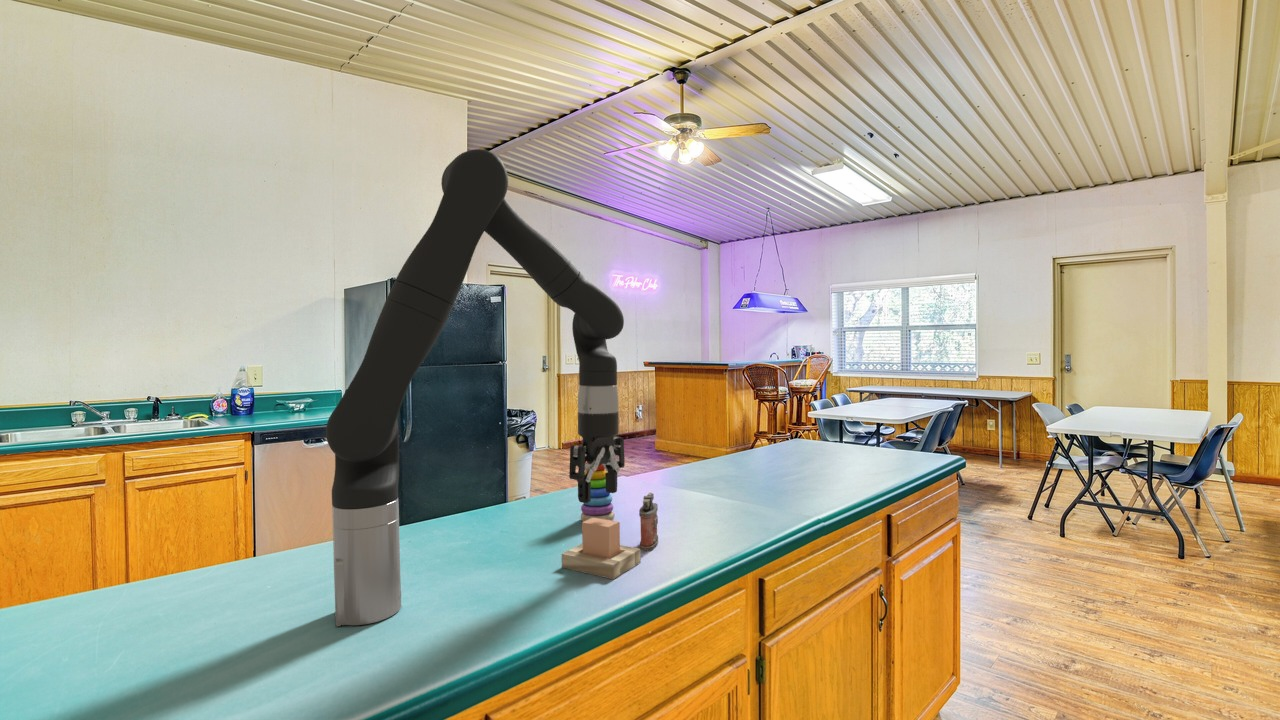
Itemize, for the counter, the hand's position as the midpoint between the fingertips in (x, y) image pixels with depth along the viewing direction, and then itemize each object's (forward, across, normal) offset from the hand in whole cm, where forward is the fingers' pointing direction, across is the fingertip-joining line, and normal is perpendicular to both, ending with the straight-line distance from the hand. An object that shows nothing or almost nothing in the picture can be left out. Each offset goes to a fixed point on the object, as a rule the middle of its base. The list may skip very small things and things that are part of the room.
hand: (598, 497), depth 107 cm
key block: (+13, 0, 0) cm, 13 cm away
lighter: (+13, +14, -3) cm, 19 cm away
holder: (+13, 0, 0) cm, 13 cm away
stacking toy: (+13, +23, +16) cm, 31 cm away
